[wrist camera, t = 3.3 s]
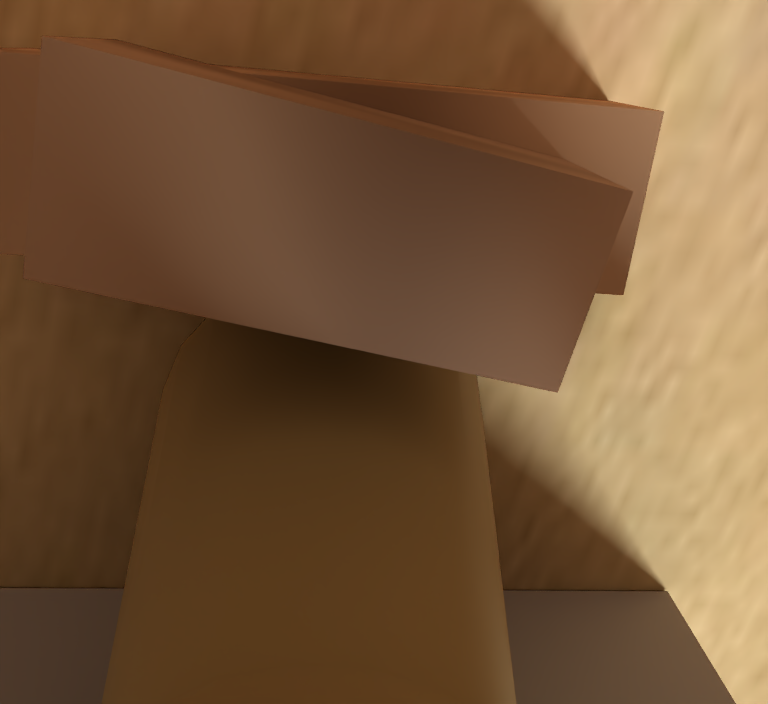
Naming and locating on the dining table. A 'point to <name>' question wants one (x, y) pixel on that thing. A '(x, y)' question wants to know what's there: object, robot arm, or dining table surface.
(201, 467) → the cork
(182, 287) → the offcut top
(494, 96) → the offcut low
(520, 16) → the dining table surface
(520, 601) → the board
